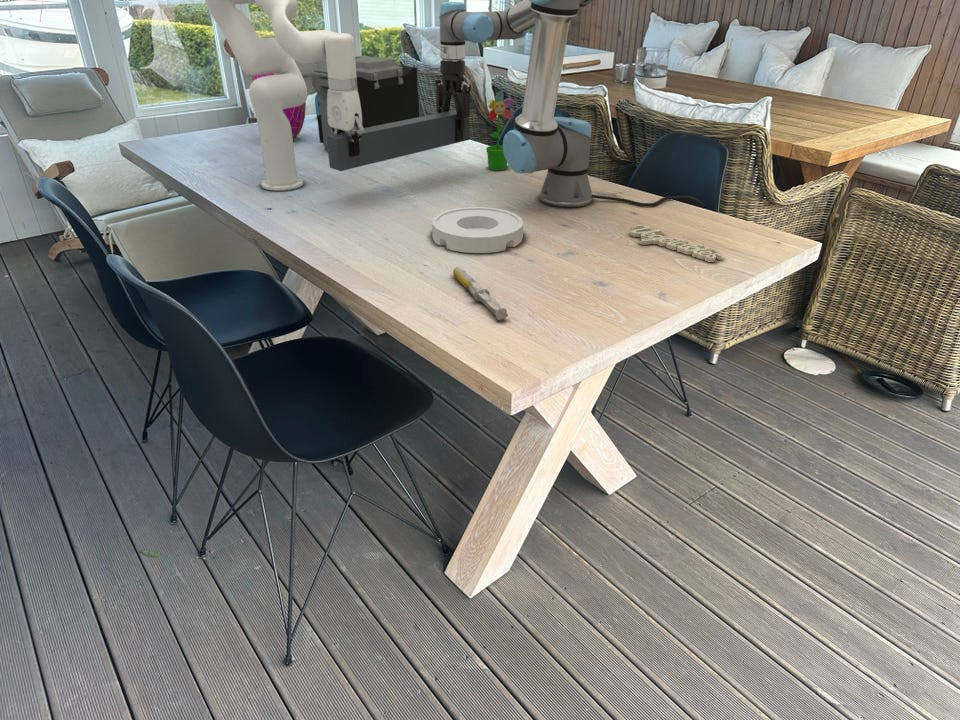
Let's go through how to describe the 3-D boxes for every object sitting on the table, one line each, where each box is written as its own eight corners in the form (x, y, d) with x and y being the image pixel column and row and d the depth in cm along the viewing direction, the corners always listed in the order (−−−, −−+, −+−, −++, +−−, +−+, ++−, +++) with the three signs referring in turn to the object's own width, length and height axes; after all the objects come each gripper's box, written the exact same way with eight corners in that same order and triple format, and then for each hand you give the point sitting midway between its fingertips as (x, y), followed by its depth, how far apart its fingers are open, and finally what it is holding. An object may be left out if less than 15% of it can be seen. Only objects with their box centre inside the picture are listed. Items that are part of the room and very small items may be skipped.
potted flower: (491, 172, 228) (493, 92, 215) (480, 166, 234) (481, 88, 221) (516, 168, 232) (519, 90, 219) (504, 163, 238) (506, 86, 225)
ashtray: (436, 220, 186) (436, 206, 184) (521, 222, 186) (522, 207, 184) (428, 252, 166) (427, 236, 164) (523, 254, 166) (524, 238, 164)
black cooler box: (383, 133, 276) (378, 52, 261) (425, 141, 265) (422, 56, 250) (314, 150, 251) (304, 61, 235) (358, 160, 240) (350, 67, 224)
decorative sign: (617, 232, 177) (640, 223, 183) (616, 235, 177) (640, 227, 183) (706, 262, 160) (729, 252, 166) (705, 266, 160) (728, 255, 166)
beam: (458, 137, 224) (458, 109, 219) (469, 139, 221) (469, 111, 216) (329, 167, 192) (326, 135, 187) (340, 171, 189) (337, 138, 184)
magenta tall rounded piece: (293, 132, 276) (283, 50, 261) (319, 140, 264) (310, 56, 249) (249, 139, 265) (236, 54, 250) (273, 148, 253) (261, 60, 238)
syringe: (449, 274, 155) (449, 263, 153) (465, 272, 156) (464, 260, 154) (490, 323, 135) (491, 310, 133) (508, 319, 136) (508, 307, 134)
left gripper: (312, 82, 185) (319, 150, 194) (351, 90, 175) (356, 162, 185) (335, 79, 190) (340, 146, 199) (374, 87, 180) (378, 157, 189)
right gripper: (423, 57, 210) (425, 135, 222) (465, 64, 199) (464, 145, 211) (440, 55, 215) (441, 132, 226) (483, 61, 204) (481, 141, 216)
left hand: (348, 153), depth 192 cm, fingers closed on beam, 5 cm apart
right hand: (452, 138), depth 219 cm, fingers closed on beam, 5 cm apart
